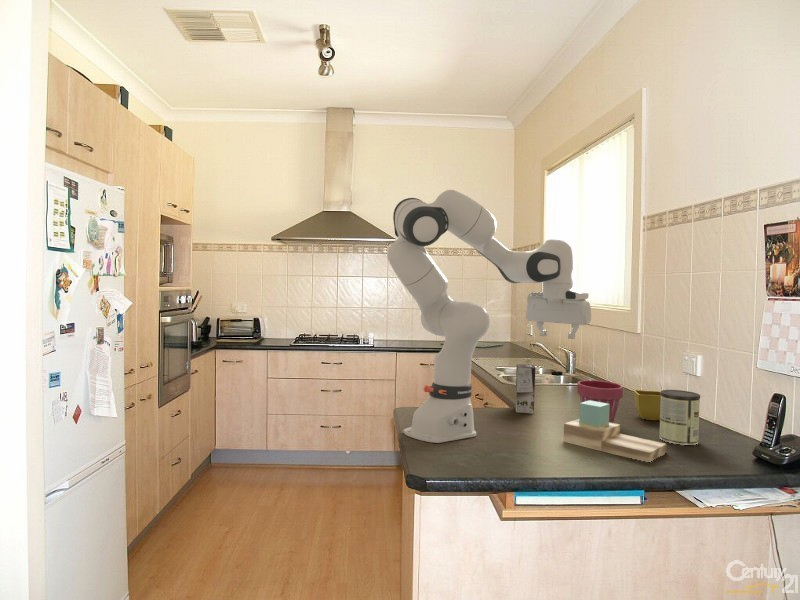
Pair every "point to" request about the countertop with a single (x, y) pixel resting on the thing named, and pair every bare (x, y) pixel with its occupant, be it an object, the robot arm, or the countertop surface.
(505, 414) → the countertop surface
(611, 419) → the plant pot
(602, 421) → the teal cube
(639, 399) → the flower pot
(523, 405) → the coffee box
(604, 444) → the stair
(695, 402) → the coffee can
